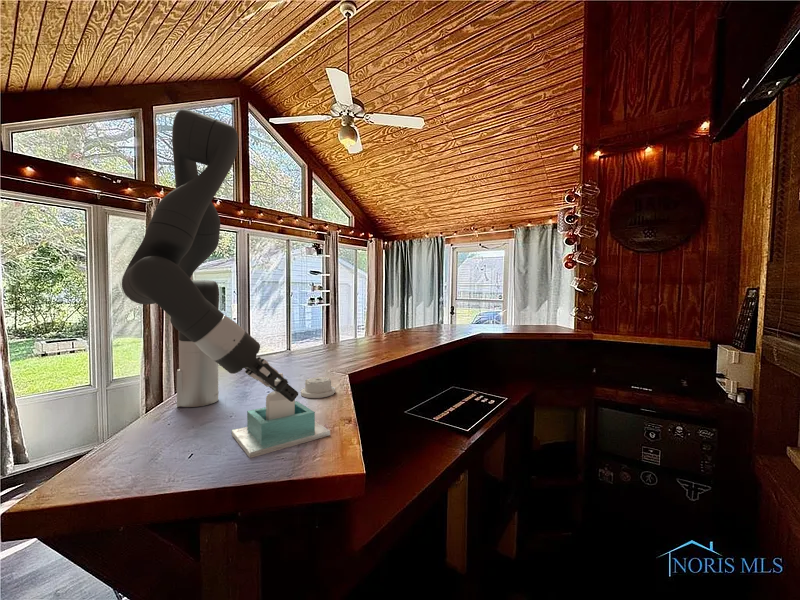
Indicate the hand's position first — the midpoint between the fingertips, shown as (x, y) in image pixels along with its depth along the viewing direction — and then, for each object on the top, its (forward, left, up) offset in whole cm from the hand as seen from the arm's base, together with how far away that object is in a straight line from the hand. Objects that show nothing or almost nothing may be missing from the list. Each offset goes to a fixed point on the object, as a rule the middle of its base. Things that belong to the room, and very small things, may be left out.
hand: (287, 392), depth 72 cm
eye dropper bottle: (-1, 0, -8) cm, 8 cm away
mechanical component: (+9, +28, -9) cm, 31 cm away
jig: (-1, 0, -9) cm, 9 cm away
